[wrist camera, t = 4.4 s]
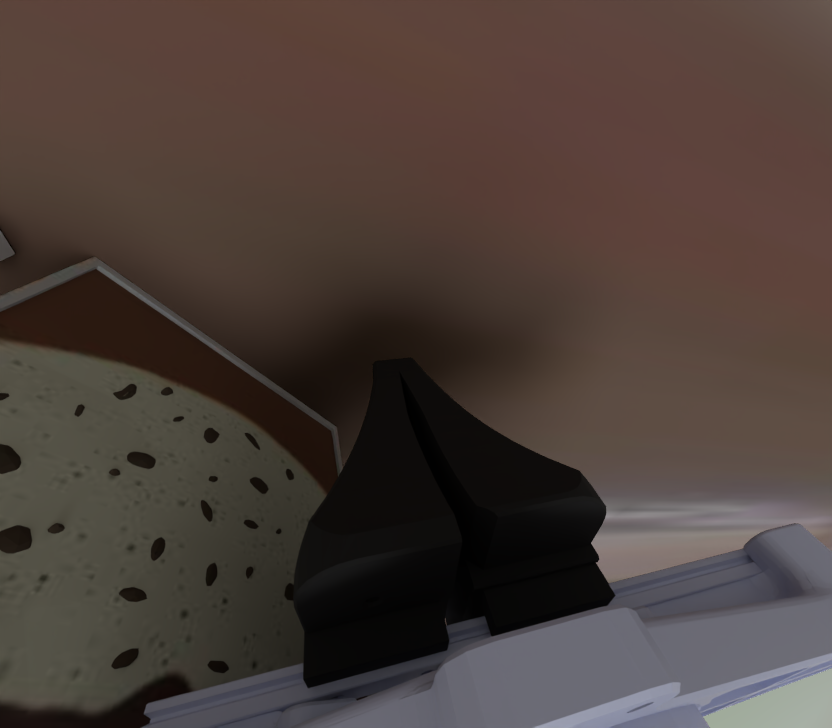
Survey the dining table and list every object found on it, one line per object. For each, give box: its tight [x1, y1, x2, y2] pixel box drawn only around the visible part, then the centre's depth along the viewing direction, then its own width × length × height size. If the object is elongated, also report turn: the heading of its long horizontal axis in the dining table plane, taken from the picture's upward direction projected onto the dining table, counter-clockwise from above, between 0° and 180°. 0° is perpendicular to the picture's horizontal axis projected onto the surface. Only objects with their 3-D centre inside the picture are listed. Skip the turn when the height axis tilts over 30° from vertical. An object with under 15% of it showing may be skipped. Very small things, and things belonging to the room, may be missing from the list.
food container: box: [0, 256, 376, 728], centre depth 9 cm, size 12×6×10 cm, turn 35°
